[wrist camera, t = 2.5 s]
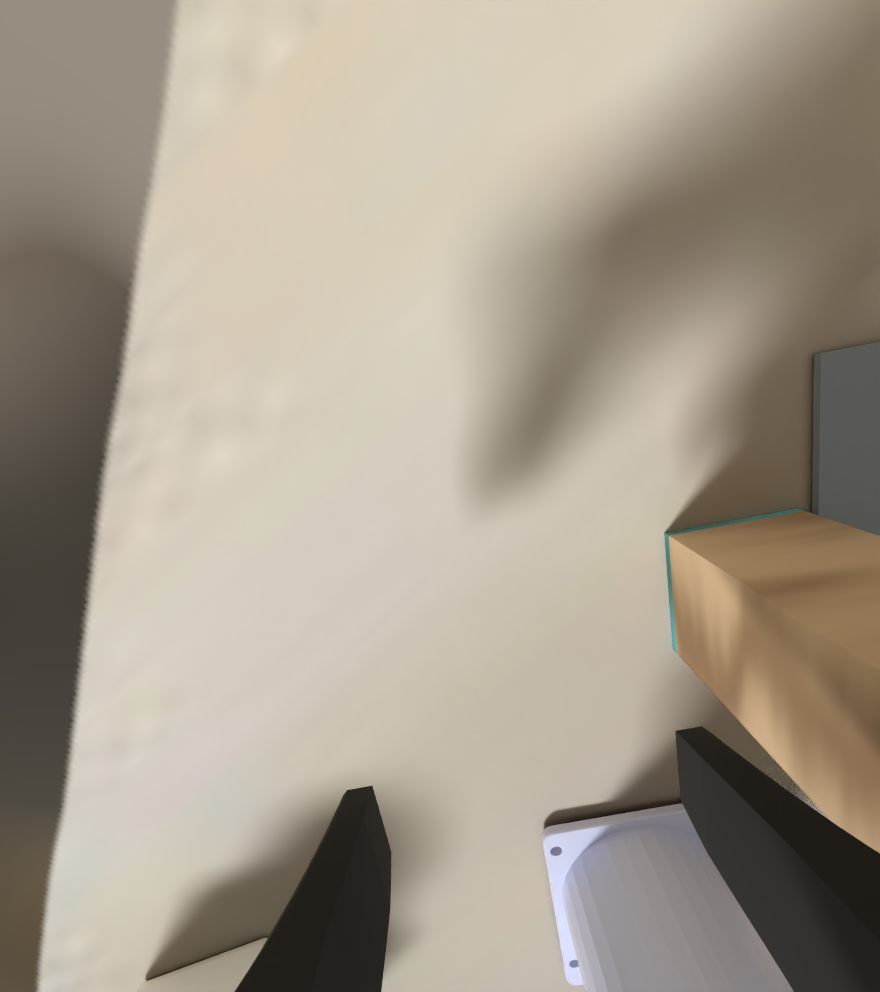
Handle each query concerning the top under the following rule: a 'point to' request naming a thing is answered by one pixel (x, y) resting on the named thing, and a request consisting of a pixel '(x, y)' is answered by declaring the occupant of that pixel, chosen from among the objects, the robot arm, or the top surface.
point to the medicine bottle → (209, 972)
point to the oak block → (790, 647)
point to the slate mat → (847, 436)
